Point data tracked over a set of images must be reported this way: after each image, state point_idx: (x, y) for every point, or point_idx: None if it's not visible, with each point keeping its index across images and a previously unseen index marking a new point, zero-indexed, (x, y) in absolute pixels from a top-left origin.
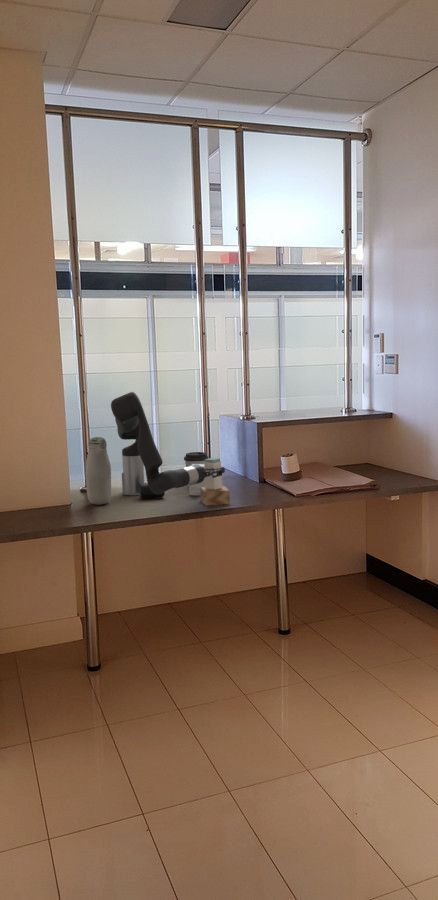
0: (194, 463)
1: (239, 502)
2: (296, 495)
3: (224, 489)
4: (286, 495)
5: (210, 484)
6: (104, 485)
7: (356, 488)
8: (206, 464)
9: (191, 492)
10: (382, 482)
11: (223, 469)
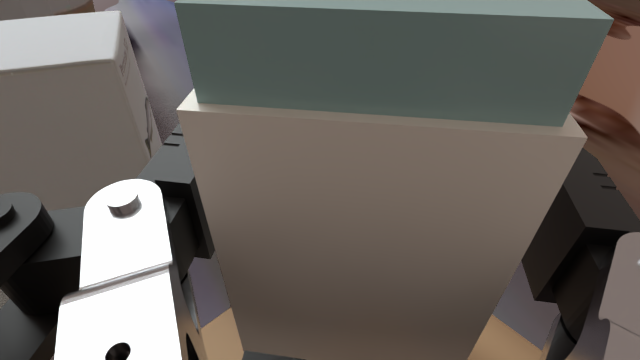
0: (2, 2)
1: (519, 333)
2: (594, 123)
3: (486, 353)
4: None
5: None
6: None
7: (630, 37)
8: (270, 169)
9: None
10: (605, 3)
11: (604, 183)
